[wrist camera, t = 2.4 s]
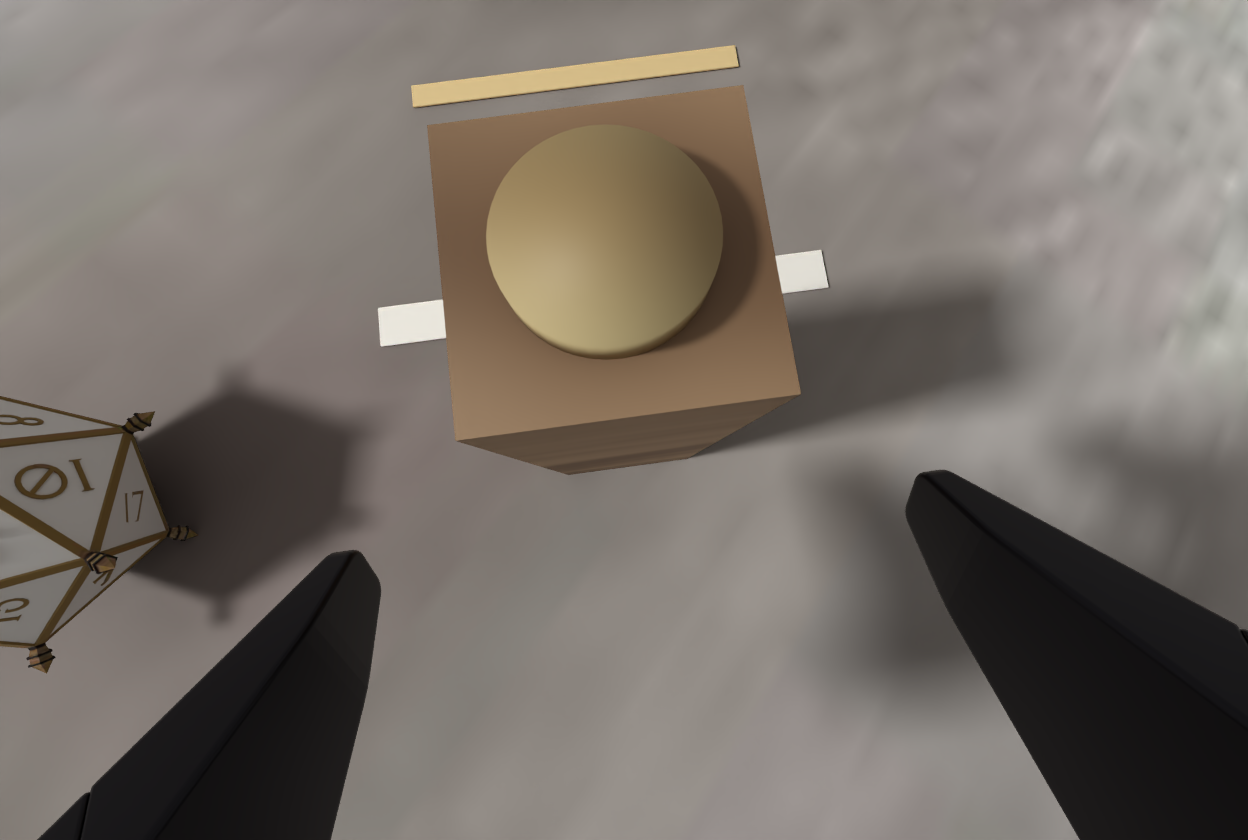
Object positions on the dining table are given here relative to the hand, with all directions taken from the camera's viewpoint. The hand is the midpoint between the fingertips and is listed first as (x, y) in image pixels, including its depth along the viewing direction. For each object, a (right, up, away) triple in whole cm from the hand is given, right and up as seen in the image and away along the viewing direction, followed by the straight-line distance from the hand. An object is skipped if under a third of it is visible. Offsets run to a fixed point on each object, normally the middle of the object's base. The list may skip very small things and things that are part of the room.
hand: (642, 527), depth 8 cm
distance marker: (-2, +17, +14) cm, 22 cm away
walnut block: (0, +2, +12) cm, 12 cm away
